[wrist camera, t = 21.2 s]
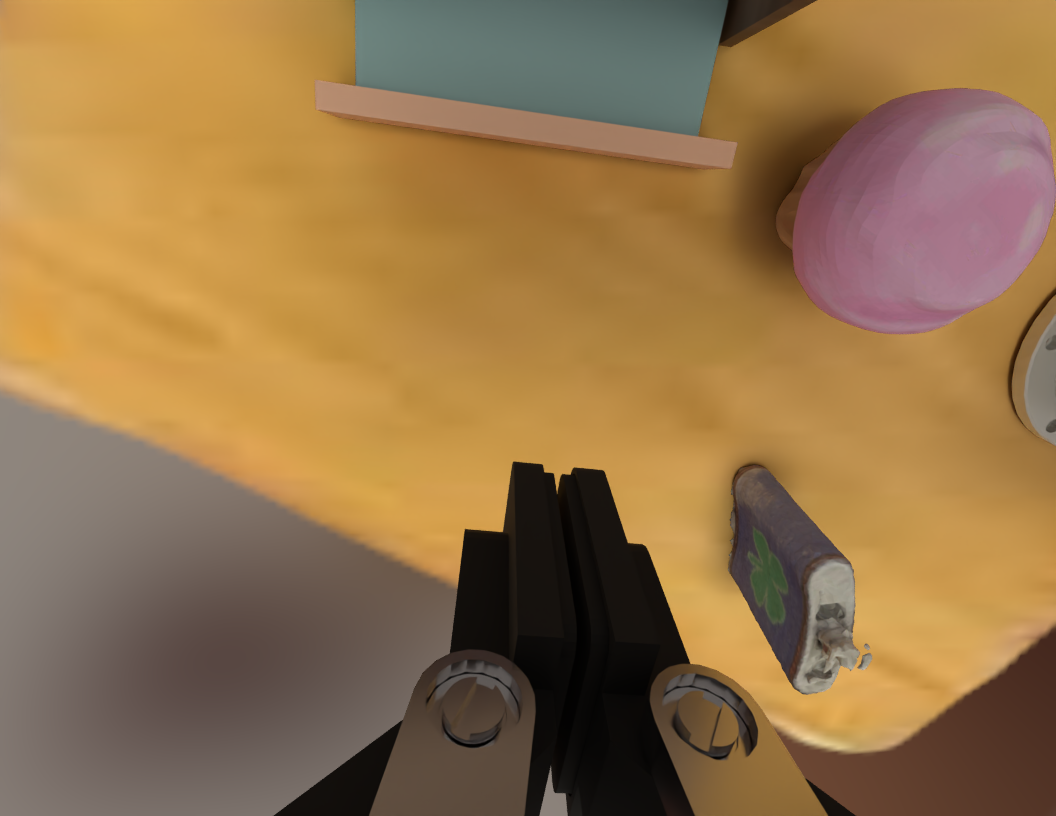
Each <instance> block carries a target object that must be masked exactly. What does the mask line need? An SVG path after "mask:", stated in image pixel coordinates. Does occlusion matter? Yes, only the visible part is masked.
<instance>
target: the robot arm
mask: <svg viewBox="0 0 1056 816" xmlns="http://www.w3.org/2000/svg"><path fill="white" fill-rule="evenodd" d="M1012 399H1013V402H1014V405H1015V409H1016V412H1017V415H1018V416H1019V418H1020V419H1021V421H1022V422H1023V424H1024V425H1025V427H1026V428H1028V429H1029V430H1030V431H1031V432H1032V433H1033V434H1035V435H1036V436H1037V437H1039V438H1041V439H1043V440H1045V441H1047V442H1049V443H1051V444H1053V445H1055V446H1056V295H1055V296H1054V297H1053V298H1052V299H1051V300H1050V301H1049V302H1048V303H1047V305H1046V306H1045V307H1044V309H1043V310H1042V311H1041V313H1040V314H1039V315H1038V317H1037V318H1036V319H1035V321H1034V322H1033V324H1032V326H1031V328H1030V329H1029V331H1028V333H1027V335H1026V336H1025V338H1024V340H1023V342H1022V345H1021V347H1020V350H1019V353H1018V356H1017V358H1016V361H1015V366H1014V372H1013V377H1012ZM550 766H551V771H552V783H553V789H554V792H555V793H566V801H567V812H568V816H855V815H854V814H853V813H851V812H850V811H849V810H847V809H846V808H845V807H843V806H842V805H841V804H839V803H838V802H837V801H835V800H834V799H833V798H831V797H830V796H829V795H827V794H826V793H824V792H823V791H822V790H821V789H819V788H818V787H817V786H815V785H814V784H813V783H811V782H810V781H809V780H807V779H805V778H804V776H803V775H802V773H801V771H800V770H799V768H798V767H797V765H796V764H795V762H794V760H793V759H792V757H791V755H790V754H789V752H788V751H787V749H786V747H785V746H784V744H783V743H782V741H781V739H780V738H779V736H778V735H777V733H776V731H775V730H774V728H773V726H772V725H771V723H770V722H769V720H768V718H767V717H766V715H765V714H764V712H763V710H762V709H761V708H760V706H759V705H758V704H757V703H756V701H755V700H754V699H753V697H752V696H751V695H750V694H749V693H748V692H747V691H746V690H745V689H744V688H742V687H741V686H740V685H739V684H738V683H737V682H735V681H734V680H733V679H731V678H729V677H727V676H726V675H724V674H722V673H720V672H719V671H717V670H714V669H711V668H708V667H705V666H702V665H695V664H690V662H689V659H688V656H687V653H686V651H685V648H684V645H683V643H682V640H681V637H680V635H679V632H678V629H677V627H676V624H675V621H674V619H673V616H672V613H671V611H670V608H669V605H668V602H667V600H666V597H665V594H664V592H663V589H662V586H661V584H660V581H659V578H658V576H657V573H656V570H655V568H654V565H653V562H652V560H651V557H650V554H649V552H648V550H647V548H646V546H644V545H643V544H633V543H628V542H627V539H626V536H625V533H624V530H623V527H622V524H621V521H620V518H619V515H618V512H617V508H616V505H615V502H614V499H613V496H612V493H611V490H610V487H609V484H608V481H607V478H606V475H605V472H604V471H603V470H595V469H584V468H573V470H572V472H571V475H566V474H562V475H561V478H560V482H559V487H558V493H557V491H556V484H555V478H554V474H553V473H545V472H544V468H543V465H542V464H533V463H523V462H513V465H512V470H511V477H510V485H509V492H508V499H507V507H506V514H505V521H504V529H503V532H493V531H481V530H469V529H465V533H464V541H463V549H462V557H461V566H460V574H459V582H458V590H457V600H456V608H455V615H454V624H453V632H452V640H451V649H450V654H448V655H446V656H444V657H442V658H440V659H439V660H436V661H435V662H434V663H433V664H432V665H431V666H430V667H429V668H427V669H426V670H425V671H424V672H423V674H422V675H421V677H420V679H419V681H418V683H417V684H416V686H415V688H414V691H413V693H412V696H411V699H410V702H409V705H408V708H407V710H406V713H405V716H404V719H403V720H402V721H400V722H399V723H398V724H396V725H395V726H394V727H392V728H391V729H390V730H388V731H387V732H386V733H384V734H383V735H382V736H380V737H379V738H378V739H376V740H375V741H373V742H372V743H371V744H369V745H368V746H367V747H365V748H364V749H363V750H361V751H360V752H359V753H357V754H356V755H355V756H353V757H352V758H351V759H349V760H348V761H346V762H345V763H344V764H342V765H341V766H340V767H339V768H337V769H336V770H334V771H333V772H332V773H330V774H329V775H328V776H326V777H325V778H324V779H322V780H321V781H320V782H318V783H317V784H316V785H314V786H313V787H311V788H310V789H309V790H308V791H306V792H305V793H303V794H302V795H301V796H299V797H298V798H297V799H295V800H294V801H293V802H291V803H290V804H289V805H287V806H286V807H285V808H283V809H282V810H281V811H279V812H278V813H277V814H275V815H274V816H539V815H540V810H541V806H542V801H543V797H544V792H545V788H546V784H547V780H548V775H549V770H550Z"/></svg>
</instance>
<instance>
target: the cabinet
mask: <svg viewBox="0 0 1056 816" xmlns="http://www.w3.org/2000/svg"><path fill="white" fill-rule="evenodd" d="M815 1H817V0H728V5H727V9H726V13H725V18H724V22H723V27H722V31H721V36H720V40H719V45H722V46H728V47H732V46H734V45H736V44H738V43H739V42H741V41H743V40H745V39H747V38H749V37H750V36H752V35H754V34H756V33H758V32H760V31H761V30H763V29H765V28H767V27H769V26H771V25H772V24H774V23H776V22H778V21H780V20H782V19H784V18H785V17H787V16H789V15H791V14H793V13H795V12H796V11H798V10H800V9H802V8H804V7H806V6H807V5H809V4H811V3H813V2H815Z"/></svg>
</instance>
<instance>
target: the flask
mask: <svg viewBox="0 0 1056 816" xmlns="http://www.w3.org/2000/svg"><path fill="white" fill-rule="evenodd" d="M756 466H759V465H753V466H749V467H745V468H740V470H739V472H738V474H737V476H736V477H735V480H734V482H733V487H732V490H731V495H733V496H734V507H733V511H732V512H731V519H730V521H731V524H730V526H731V527H732V528H733V532H734V539H732V540H730V541H731V543H732V546H733V551H732V552H731V554H730V555H729V556H730V562H729V567H728V571H729V573H730V574H731V576H732V577H733V579H734V580H735V582H736V584H737V585H738V587H739V589H740V590H741V592H742V594H743V597H744V598H745V600H746V601H747V603H748V605H749V607H750V610H751V611H752V613H753V615H754V617H755V619H756V621H757V622H758V624H759V626H760V628H761V629H762V631H763V633H764V635H765V637H766V639H767V641H768V642H769V644H770V645H771V647H772V650H773V652H774V653H775V656H776V658H777V659H778V661H779V662H780V663H781V666H782V669H783V671H784V672H785V674H786V676H787V678H788V680H789V682H790V683H791V684H792V686H793V688H794V689H796V690H797V691H799V692H801V693H802V694H806V695H808V694H812V693H818V692H824V691H826V690H827V689H829V688H830V687H831V686H832V684H833V682H834V681H835V679H836V677H837V674H838V671H839V668H840V666H843V667H846V668H849V669H850V671H851V670H852V669H853V668H854V666H855V664H856V662H857V658H858V657H859V654H860V652H859V650H858V649H857V648H856V647H855V646H854V645H853V641H852V639H853V634H852V633H853V625H854V614H855V579H854V576H853V574H854V570H853V569H852V566H851V563H850V562H849V561H848V560H847V559H846V557H845V556H844V555H843V554H842V553H841V552H840V551H839V550H838V549H837V548H836V547H835V546H834V545H833V543H832V542H831V541H830V540H829V539H828V538H827V537H826V536H825V535H824V534H823V533H822V531H821V530H820V529H819V528H818V527H817V525H816V524H815V523H814V522H813V521H812V520H811V519H810V518H809V517H808V515H807V514H806V513H805V512H804V511H803V510H802V509H801V508H800V507H799V506H798V505H797V503H796V502H795V501H794V500H793V499H792V497H791V496H790V495H789V494H788V492H787V491H786V490H785V489H784V488H783V487H782V485H781V484H780V483H779V482H778V481H777V480H776V479H775V477H774V476H773V475H772V474H771V473H770V472H769V471H768V470H767V469H766V468H764V467H762V466H759V467H756ZM760 467H762V468H760ZM864 647H865V648H866V649H867V650H869V649H870V647H869V645H868V644H865V645H864ZM871 660H872V655H871V654H870V653H868V654H865V655H863V656H862V661H861V664H860V665H859V666H858V669H862V670H864V669H866V668H867V666H868V665H869V663H870V662H871Z"/></svg>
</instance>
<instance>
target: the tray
mask: <svg viewBox="0 0 1056 816" xmlns="http://www.w3.org/2000/svg"><path fill="white" fill-rule="evenodd" d="M727 5H728V0H355V40H356V86H353V85H346V84H339V83H333V82H326V81H319V80H315V101H316V110H319V111H322V112H325V113H328V114H330V115H333V116H336V117H340V118H347V119H354V120H361V121H368V122H375V123H382V124H389V125H396V126H403V127H411V128H418V129H425V130H432V131H439V132H446V133H453V134H460V135H467V136H474V137H481V138H488V139H495V140H502V141H509V142H516V143H523V144H530V145H537V146H544V147H551V148H558V149H565V150H572V151H579V152H586V153H593V154H601V155H608V156H615V157H622V158H629V159H636V160H643V161H650V162H657V163H664V164H671V165H678V166H685V167H692V168H699V169H731V168H732V164H733V160H734V156H735V152H736V148H737V144H738V142H731V141H725V140H718V139H711V138H704V137H698V133H699V129H700V124H701V120H702V116H703V111H704V107H705V102H706V98H707V93H708V89H709V84H710V80H711V76H712V71H713V67H714V62H715V58H716V53H717V49H718V45H719V40H720V36H721V31H722V27H723V22H724V18H725V13H726V9H727Z"/></svg>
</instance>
